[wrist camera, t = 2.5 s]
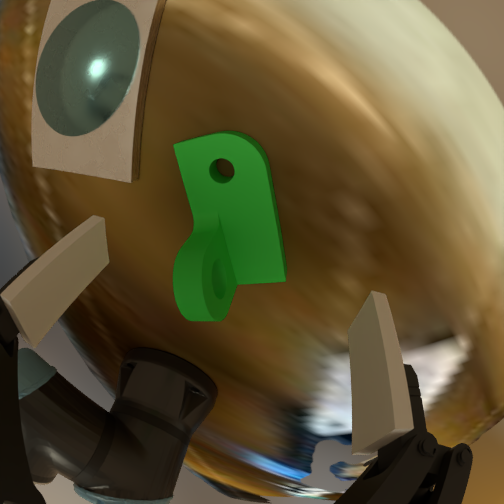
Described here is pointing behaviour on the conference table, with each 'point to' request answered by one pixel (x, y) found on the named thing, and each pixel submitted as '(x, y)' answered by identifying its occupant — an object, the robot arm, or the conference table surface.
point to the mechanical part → (226, 224)
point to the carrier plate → (93, 86)
